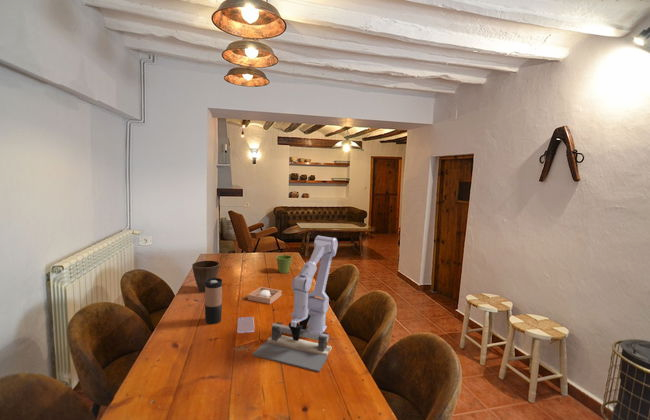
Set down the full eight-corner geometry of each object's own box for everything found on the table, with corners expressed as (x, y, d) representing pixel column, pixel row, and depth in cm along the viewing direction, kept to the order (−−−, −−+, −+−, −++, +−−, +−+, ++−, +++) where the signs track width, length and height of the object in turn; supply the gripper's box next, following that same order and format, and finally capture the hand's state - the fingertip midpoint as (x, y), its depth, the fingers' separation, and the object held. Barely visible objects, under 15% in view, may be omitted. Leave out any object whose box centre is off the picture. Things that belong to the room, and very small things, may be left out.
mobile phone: (237, 331, 144) (237, 317, 158) (237, 334, 144) (237, 318, 158) (254, 330, 146) (253, 316, 160) (254, 332, 146) (253, 318, 160)
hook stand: (273, 335, 143) (274, 320, 143) (331, 348, 135) (332, 333, 134) (266, 342, 138) (267, 326, 137) (327, 356, 129) (328, 339, 129)
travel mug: (217, 316, 160) (217, 276, 157) (224, 321, 154) (225, 281, 152) (202, 320, 154) (202, 279, 152) (209, 326, 149) (209, 284, 147)
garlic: (261, 293, 192) (261, 287, 191) (272, 294, 191) (272, 288, 191) (256, 299, 184) (257, 292, 183) (268, 300, 183) (268, 293, 183)
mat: (264, 343, 137) (264, 341, 137) (327, 357, 128) (327, 356, 128) (252, 355, 127) (252, 353, 127) (319, 372, 119) (319, 370, 119)
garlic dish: (260, 291, 195) (260, 286, 194) (281, 295, 190) (281, 290, 190) (247, 299, 181) (247, 294, 181) (270, 304, 177) (270, 298, 177)
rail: (273, 327, 141) (274, 323, 140) (328, 339, 133) (328, 334, 133) (271, 330, 139) (271, 325, 138) (326, 342, 131) (327, 337, 131)
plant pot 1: (197, 296, 182) (197, 269, 180) (188, 288, 193) (188, 262, 191) (222, 291, 192) (223, 265, 190) (212, 284, 203) (213, 259, 201)
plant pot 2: (283, 268, 243) (283, 253, 242) (295, 272, 236) (295, 257, 235) (271, 272, 233) (272, 256, 232) (283, 275, 226) (284, 260, 225)
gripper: (298, 297, 142) (297, 326, 144) (284, 309, 129) (283, 342, 130) (313, 299, 140) (312, 329, 142) (300, 313, 127) (299, 345, 128)
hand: (299, 335), depth 136 cm, fingers open, 7 cm apart
